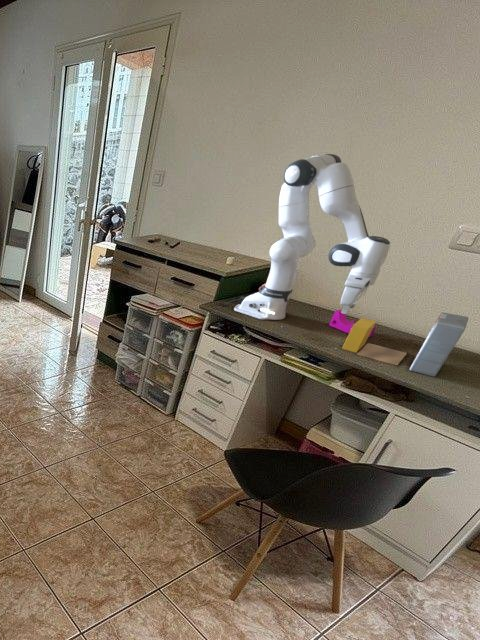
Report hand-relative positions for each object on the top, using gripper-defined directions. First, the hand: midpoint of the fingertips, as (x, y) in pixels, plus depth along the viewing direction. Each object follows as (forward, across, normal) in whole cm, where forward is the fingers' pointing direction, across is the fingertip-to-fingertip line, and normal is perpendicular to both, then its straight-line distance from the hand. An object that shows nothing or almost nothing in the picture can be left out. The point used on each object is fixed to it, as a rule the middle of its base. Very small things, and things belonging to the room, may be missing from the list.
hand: (347, 310), depth 179 cm
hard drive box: (+15, +1, +30) cm, 34 cm away
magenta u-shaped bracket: (+15, -19, +1) cm, 24 cm away
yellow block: (+15, 0, +7) cm, 16 cm away
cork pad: (+15, 0, +16) cm, 22 cm away
